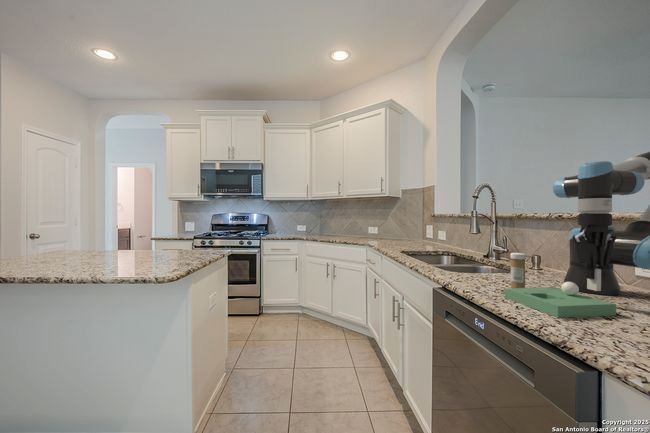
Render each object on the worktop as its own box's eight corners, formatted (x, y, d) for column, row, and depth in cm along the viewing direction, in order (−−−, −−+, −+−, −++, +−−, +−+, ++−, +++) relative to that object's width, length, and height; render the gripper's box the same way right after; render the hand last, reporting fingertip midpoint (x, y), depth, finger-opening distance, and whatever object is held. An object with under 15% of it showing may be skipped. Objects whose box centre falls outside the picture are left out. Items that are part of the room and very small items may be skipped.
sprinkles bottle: (527, 290, 99) (527, 253, 99) (522, 292, 97) (522, 254, 97) (513, 288, 103) (513, 252, 103) (507, 289, 100) (508, 252, 101)
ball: (569, 293, 85) (569, 280, 85) (582, 296, 82) (582, 283, 82) (557, 293, 85) (557, 280, 85) (570, 297, 81) (570, 283, 81)
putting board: (553, 296, 93) (553, 287, 93) (616, 315, 75) (616, 304, 75) (504, 297, 90) (504, 288, 90) (557, 317, 73) (557, 306, 73)
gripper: (589, 212, 80) (588, 293, 80) (627, 213, 81) (626, 292, 81) (563, 212, 87) (563, 287, 87) (599, 213, 89) (598, 286, 89)
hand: (593, 289), depth 84 cm, fingers closed
